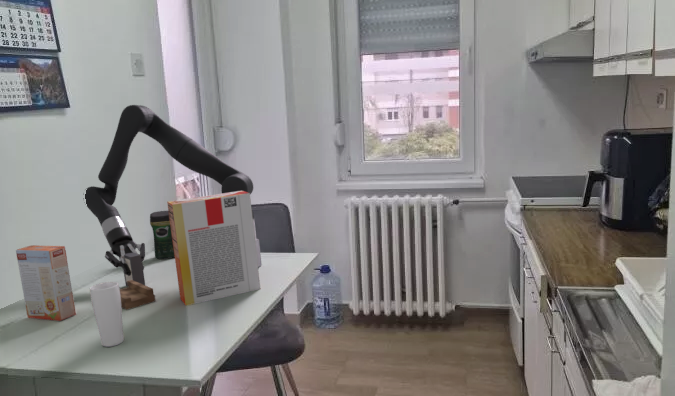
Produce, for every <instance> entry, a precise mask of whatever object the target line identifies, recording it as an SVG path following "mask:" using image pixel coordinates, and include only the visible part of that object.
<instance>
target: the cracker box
mask: <svg viewBox="0 0 675 396" xmlns="http://www.w3.org/2000/svg"><path fill="white" fill-rule="evenodd" d="M15 253H16V260H17V265H18V270H19V276H20V281H21V282H20V283H21V288H22V292H23V299H24V305H25V309H26V310H25V311H26V315H27V318H29V319H34V320H35V319H37V320H47V321H57V322H61V321H64V320H66V319H69V318H70V317H73V316H75V315H77V313H76V304H75V299H74V293H73V288H72V283H71V282H72V280H71V275H70V269H69V264H68V257H67V251H66V246H65V245H37V244H36V245H28V246H25V247H21V248H19V249H16V250H15Z"/></svg>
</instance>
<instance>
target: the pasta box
mask: <svg viewBox="0 0 675 396" xmlns="http://www.w3.org/2000/svg"><path fill="white" fill-rule="evenodd" d="M167 211H169V218H170V226H171V233H172V240H173V248H174V255H175V257H174V263H175V270H176V274H177V276H176V277H177V283H178V290H179V298H180V301H182V303H183V304H184V305H185V306H190V305H196V304H199V303H204V302H207V301H208V302H209V301H213V300H217V299H222V298H227V297H231V296H235V295H239V294H244V293H248V292H253V291H257V290H261V280H260V273H259V267H258V262H257V253H256V244H255V235H254V226H253V217H252V211H253V209H252V202H251V194H250V193H248V192H245V191H236V192H229V193H222V192H221V193H217V194H210V195H203V196H196V197H190V198H188V197H187V198H184V199H183V198H182V199H175V200H169V201H167Z"/></svg>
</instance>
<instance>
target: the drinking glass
mask: <svg viewBox="0 0 675 396" xmlns="http://www.w3.org/2000/svg"><path fill="white" fill-rule="evenodd" d="M120 289H121V288H120V285H119V282H117V281H106V282H101V283H97V284H94V285H92V286H90V287H89V293H90V294H89V295H90V301H91V307H92V310H93V314H94V318H95V321H96V325H97V329H98V333H99V337H100V343H101V345H102V346H103V347H107V348H110V347H115V346H118V345H120V344H122V343H123V342H124V340H125V336H124V325H123V311H122V310H123V309H122V306H121V295H120Z"/></svg>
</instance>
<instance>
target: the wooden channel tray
mask: <svg viewBox="0 0 675 396" xmlns="http://www.w3.org/2000/svg"><path fill="white" fill-rule="evenodd" d="M127 283H128V286H126V287H123V288H119V289H120V295H121V306H122V308H123V309H124V310H126V311H127V310H130V309H134V308H137V307H140V306H141V307H142V306H144V305H148V304H150V303H154V302H156V295H155V294H154V293H155V292H154V288H153V287H150V286H147V285H146V284H145V285H143V284H140V283H138V282H136V281H133V280H129V281H127Z"/></svg>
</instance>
